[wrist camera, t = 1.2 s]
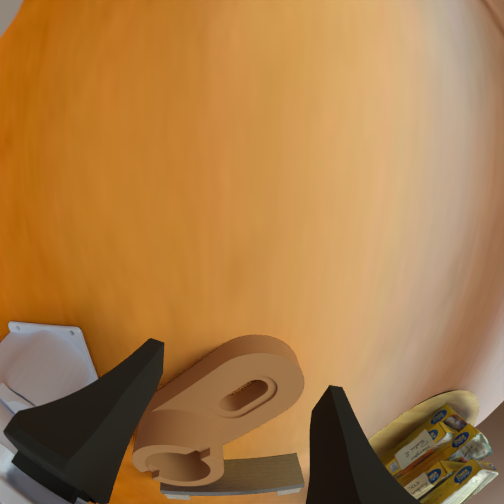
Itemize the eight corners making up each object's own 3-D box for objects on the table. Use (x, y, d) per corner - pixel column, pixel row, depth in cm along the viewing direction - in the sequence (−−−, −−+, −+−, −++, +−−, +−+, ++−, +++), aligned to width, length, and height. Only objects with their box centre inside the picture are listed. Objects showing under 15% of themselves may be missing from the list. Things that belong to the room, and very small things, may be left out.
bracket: (186, 444, 28) (183, 492, 22) (128, 409, 26) (115, 459, 19) (313, 367, 26) (336, 420, 19) (257, 315, 23) (271, 371, 17)
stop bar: (169, 473, 30) (167, 501, 25) (163, 459, 29) (159, 490, 24) (293, 467, 32) (300, 495, 27) (296, 453, 30) (304, 483, 26)
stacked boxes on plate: (318, 465, 32) (348, 558, 17) (463, 360, 29) (533, 436, 14) (375, 488, 40) (400, 547, 24) (475, 416, 37) (515, 467, 21)
